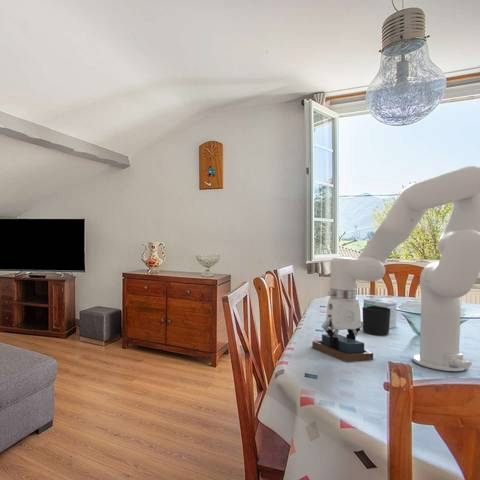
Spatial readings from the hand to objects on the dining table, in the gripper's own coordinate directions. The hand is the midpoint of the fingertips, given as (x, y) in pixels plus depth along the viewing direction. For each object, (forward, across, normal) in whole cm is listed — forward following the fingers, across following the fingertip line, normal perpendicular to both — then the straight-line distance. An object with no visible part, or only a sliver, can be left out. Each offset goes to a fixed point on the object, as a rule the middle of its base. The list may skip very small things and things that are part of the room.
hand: (342, 347), depth 135 cm
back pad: (+1, 0, 0) cm, 1 cm away
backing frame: (+2, 0, 0) cm, 2 cm away
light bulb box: (+2, +45, +29) cm, 53 cm away
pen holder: (+2, +33, +19) cm, 38 cm away
